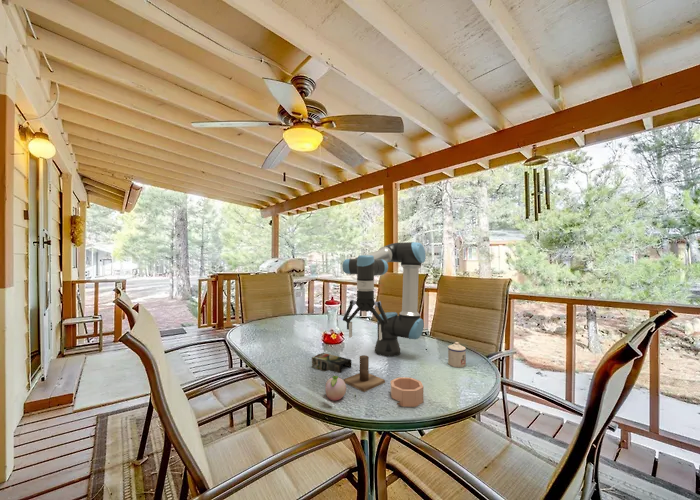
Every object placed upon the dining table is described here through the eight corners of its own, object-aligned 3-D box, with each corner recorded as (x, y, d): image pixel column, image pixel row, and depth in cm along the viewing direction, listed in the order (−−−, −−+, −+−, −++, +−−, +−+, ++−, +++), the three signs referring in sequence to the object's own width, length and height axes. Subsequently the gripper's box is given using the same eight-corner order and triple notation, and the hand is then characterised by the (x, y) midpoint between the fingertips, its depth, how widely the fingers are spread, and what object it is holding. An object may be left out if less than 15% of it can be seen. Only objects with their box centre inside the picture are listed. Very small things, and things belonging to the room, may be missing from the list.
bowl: (384, 398, 122) (384, 383, 122) (403, 388, 130) (403, 374, 130) (410, 410, 113) (410, 394, 113) (428, 399, 121) (428, 384, 121)
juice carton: (309, 367, 155) (309, 355, 155) (321, 362, 163) (322, 350, 163) (340, 377, 143) (340, 364, 143) (352, 371, 151) (352, 358, 151)
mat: (341, 385, 134) (341, 381, 134) (363, 376, 143) (363, 373, 143) (364, 396, 123) (364, 392, 123) (386, 386, 133) (386, 382, 133)
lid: (343, 381, 134) (343, 356, 134) (363, 373, 142) (363, 350, 143) (364, 391, 124) (364, 364, 124) (385, 382, 133) (384, 357, 133)
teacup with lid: (464, 369, 152) (464, 346, 152) (446, 365, 157) (446, 343, 157) (468, 361, 163) (468, 340, 163) (450, 358, 167) (450, 337, 167)
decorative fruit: (346, 406, 115) (346, 380, 115) (325, 407, 115) (325, 380, 115) (345, 395, 125) (345, 370, 125) (325, 395, 124) (325, 371, 124)
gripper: (335, 289, 134) (335, 338, 133) (392, 292, 127) (392, 343, 126) (341, 288, 141) (341, 333, 141) (394, 290, 134) (394, 338, 133)
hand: (365, 338), depth 133 cm, fingers open, 13 cm apart
